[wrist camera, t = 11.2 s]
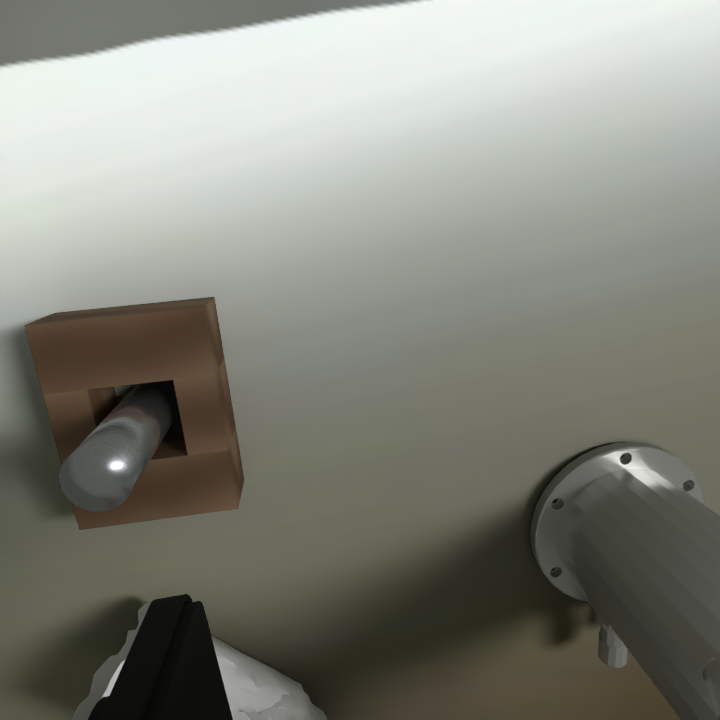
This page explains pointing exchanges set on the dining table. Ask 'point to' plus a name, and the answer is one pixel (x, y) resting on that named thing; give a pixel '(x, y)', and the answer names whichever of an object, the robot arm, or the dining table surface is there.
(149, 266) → the dining table surface
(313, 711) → the white plastic bottle
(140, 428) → the peg
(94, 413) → the hole block
